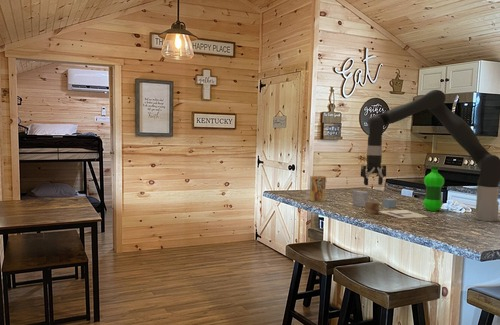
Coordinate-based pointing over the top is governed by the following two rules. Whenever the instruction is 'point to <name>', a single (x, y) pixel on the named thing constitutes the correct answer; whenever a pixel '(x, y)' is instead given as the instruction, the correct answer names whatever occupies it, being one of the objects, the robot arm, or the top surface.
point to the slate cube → (389, 203)
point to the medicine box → (360, 198)
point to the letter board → (403, 214)
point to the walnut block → (372, 207)
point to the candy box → (317, 188)
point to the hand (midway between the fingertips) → (373, 184)
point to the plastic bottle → (433, 189)
